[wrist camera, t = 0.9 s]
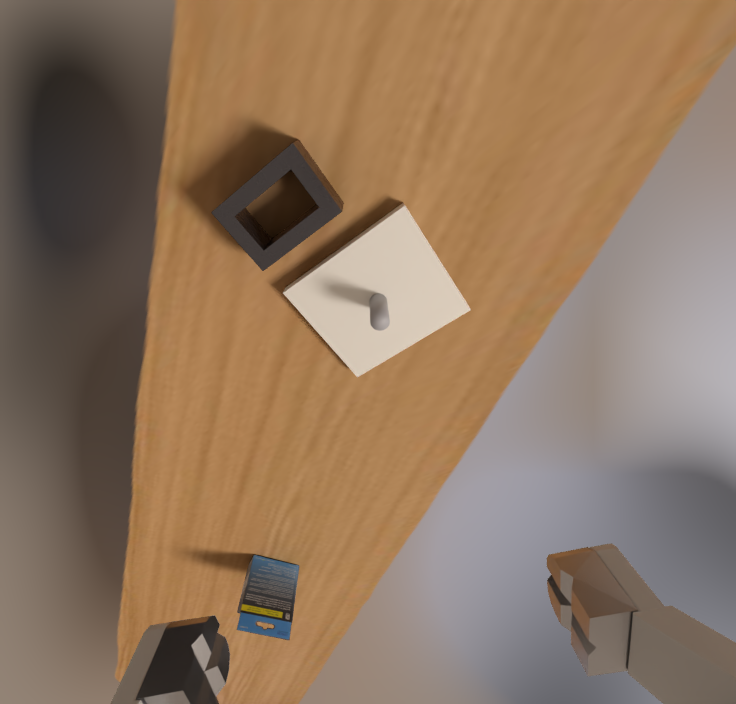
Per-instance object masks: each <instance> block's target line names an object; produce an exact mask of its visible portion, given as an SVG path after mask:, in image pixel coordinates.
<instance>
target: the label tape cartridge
mask: <svg viewBox="0 0 736 704" xmlns="http://www.w3.org/2000/svg"><path fill="white" fill-rule="evenodd" d="M298 572H299V565H295V564H291V563H286V562H282V561H277V560H273V559H269V558H265V557H261V556H258V555H253V557H252V559H251V561H250V563H249V566H248V570H247V573H246V577H245V581H244V586H243V590H242V594H241V598H240V602H239V607H238V611H237V612H238V613H240V618H239V623H238V627H237V630H240V631H246V632H250V633H255V634H260V635H265V636H270V637H276V638H280V639H285V640H290V632H291V625H292V620H293V611H294V603H295V595H296V588H297V580H298ZM257 622H262V623H267V624H272V625H274V628H273V629H271V628H267V629H263V627H261V626H258V625H257Z"/></svg>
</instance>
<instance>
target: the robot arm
mask: <svg viewBox="0 0 736 704" xmlns="http://www.w3.org/2000/svg"><path fill="white" fill-rule="evenodd" d="M547 567H548V569H549V571H550V573H551V574H552V575H551V576H550V577H549V578H548V580H547V584H548V592H549V597H550V601H551V604H552V606H553V609H554V611H555V614H556V616H557V617H558V620H559V622H560V623H561V625H562V626H564V627H565V628H567V629H568V630H569V631H571V645H572V647H573V649H574V651H575V653H576V654H577V656H578V658H579V660H580V662H581V664H582V666H583V668H584V670H585V672H586V673H587V675H588V676H593V675H600V674H608V673H615V672H622V671H628V674H629V675H630V676H632V677H633V678H634V679H635V680H636V681H637V682H639V683H640V684H641V685H642V686H643V687H645V688H646V689H647V690H648V691H649V692H650V693H651V694H653V695H654V696H655V697H656V698H657V699H658V700H660V701H661V702H662V703H663V704H736V643H735V642H733V641H732V640H730V639H728V638H727V637H725V636H723V635H721V634H720V633H718V632H716V631H714V630H712V629H711V628H709V627H707V626H706V625H704V624H702V623H700V622H699V621H697V620H695V619H694V618H692V617H690V616H688V615H687V614H685V613H683V612H681V611H680V610H678V609H676V608H675V607H673V606H666V607H665V606H664V605H663V604H662V603H661V601H660V600H659V599H658V598H657V596H656V595H655V594H654V593H653V592H652V590H651V589H650V588H649V587H648V585H647V584H646V583H645V582H644V580H643V579H642V578H641V577H640V575H639V574H638V573H637V572H636V570H635V569H634V568H633V567H632V566H631V564H630V563H629V562H628V561H627V559H626V558H625V557H624V556H623V554H622V553H621V552H620V551H619V549H618V548H617V547H616V546H614V545H613V544H605V545H600V546H594V547H590V548H588V547H586V548H581V549H576V550H571V551H566V552H560V553H555V554H551V555H548V557H547ZM219 625H220V624H219V622H218V620H217V619H216V617H215V616H208V617H201V618H194V619H187V620H181V621H174V622H168V623H162V624H156V625H150V627H149V628H148V629H147V630H146V631H145V632H144V634H143V636H142V638H141V640H140V642H139V644H138V646H137V649H136V651H135V653H134V655H133V657H132V659H131V661H130V663H129V666H128V668H127V670H126V672H125V674H124V676H123V678H122V680H121V682H120V685H119V687H118V689H117V691H116V694H115V695H114V697H113V699H112V701H111V704H219V702H218V700H217V697H216V696H217V695H218V693H219V692H220V691H221V689H222V688H223V687H224V685H225V684H226V680H227V676H228V672H229V661H230V652H229V646H228V643H227V640H226V638H225V637H224V636H222V635H220V634H219V633H217V632H218V629H219Z"/></svg>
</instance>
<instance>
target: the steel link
mask: <svg viewBox="0 0 736 704" xmlns="http://www.w3.org/2000/svg"><path fill="white" fill-rule="evenodd" d="M290 170H292V171H293V173H294V174H295V175H296V177H297V178H298V179H299V181H300V182H301V183H302V185H303V186H304V187H305V189H306V190H307V191H308V193H309V194H310V196H311V197H312V198H313V200H314V201H315V202H316V205H315V206H314V207H312V208H311V209H310V210H309V211H307V212H306V213H305V214H303V215H302V216H301V217H300V218H298V219H297V220H296V221H295V222H293V223H292V224H291V225H289V226H288V227H287V228H286V229H284V230H283V231H282V232H280V233H279V234H278V235H277V236H275V237H274V238H273V239H271V238H270V237H269V236H268V234H267V233H266V232H265V231H264V230H263V228H262V227H261V226H260V225H259V224H258V223H257V221H256V220H255V219H254V218H253V217H252V215H251V214H250V213H249V212H248V211H247V209H246V208H245V207H246V206H248V205H249V204H250V203H251V202H252V201H254V200H255V199H256V198H257V197H258V196H260V195H261V194H262V193H263V192H264V191H266V190H267V189H268V188H269V187H270V186H272V185H273V184H274V183H275V182H276V181H278V180H279V179H280V178H281V177H282V176H284V175H285V174H286V173H287V172H288V171H290ZM343 204H344V203H343V201H342V200H341V198H340V197H339V196H338V194H337V193H336V191H335V190H334V188H333V187H332V186H331V184H330V183H329V181H328V180H327V179H326V177H325V176H324V174H323V173H322V172H321V170H320V169H319V167H318V166H317V164H316V163H315V162H314V160H313V159H312V157H311V156H310V155H309V153H308V152H307V150H306V149H305V147H304V146H303V145H302V143H301V142H300V140H297V141H295V142H293V143H292V144H291V145H290V146H288V147H287V148H286V149H285V150H284V151H283V152H281V153H280V154H279V155H278V156H277V157H276V158H274V159H273V160H272V161H271V162H270V163H269V164H267V165H266V166H265V167H264V168H263V169H262V170H260V171H259V172H258V173H257V174H256V175H255V176H253V177H252V178H251V179H250V180H249V181H248V182H246V183H245V184H244V185H243V186H242V187H241V188H239V189H238V190H237V191H236V192H235V193H233V194H232V195H231V196H230V197H229V198H228V199H226V200H225V201H224V202H223V203H222V204H221V205H219V206H218V207H217V208H216V209H215V210H214V211H212V212H211V213H212V214H213V215H214V216H215V218H216V219H217V220H218V221H219V222H220V223H221V224H222V225H223V227H224V228H225V229H226V230H227V231H228V232H229V233H230V235H231V236H232V237H233V238H234V239H235V240H236V241H237V242H238V244H239V245H240V246H241V247H242V248H243V249H244V250H245V251H246V253H247V254H248V255H249V256H250V257H251V258H252V259H253V260H254V262H255V263H256V264H257V265H258V266H259V267H260V268H261V270H262V271H264V270H265V269H267V268H268V267H269V266H271V265H272V264H273V263H275V262H276V261H277V260H279V259H280V258H281V257H283V256H284V255H285V254H286V253H288V252H289V251H290V250H292V249H293V248H294V247H296V246H297V245H298V244H300V243H301V242H302V241H304V240H305V239H306V238H308V237H309V236H310V235H312V234H313V233H314V232H316V231H317V230H318V229H320V228H321V227H322V226H324V225H325V224H326V223H328V222H329V221H330V220H332V219H333V218H334V217H336V216H337V215H338V214H340V213H341V212H342V209H343Z"/></svg>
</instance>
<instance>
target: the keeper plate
mask: <svg viewBox="0 0 736 704" xmlns="http://www.w3.org/2000/svg"><path fill="white" fill-rule="evenodd" d="M283 294H284V295H285V296H286V297H287V298H288V299H289V301H290V302H291V303H292V304H293V305H294V306H295V307H296V308H297V310H298V311H299V312H300V313H301V314H302V315H303V316H304V317H305V319H306V320H307V321H308V322H309V323H310V324H311V325H312V327H313V328H314V329H315V330H316V331H317V332H318V333H319V334H320V336H321V337H322V338H323V339H324V340H325V341H326V342H327V343H328V345H329V346H330V347H331V348H332V349H333V350H334V351H335V352H336V354H337V355H338V356H339V357H340V358H341V359H342V360H343V362H344V363H345V364H346V365H347V366H348V367H349V368H350V369H351V371H352V372H353V373H354V374H355V375H356V376H357V377H359V376H360V375H362V374H364V373H365V372H367V371H369V370H370V369H372V368H374V367H376V366H377V365H379V364H381V363H382V362H384V361H386V360H387V359H389V358H391V357H392V356H394V355H396V354H397V353H399V352H401V351H402V350H404V349H406V348H408V347H409V346H411V345H413V344H414V343H416V342H418V341H419V340H421V339H423V338H424V337H426V336H428V335H429V334H431V333H433V332H434V331H436V330H438V329H439V328H441V327H443V326H445V325H446V324H448V323H450V322H451V321H453V320H455V319H456V318H458V317H460V316H461V315H463V314H465V313H466V312H468V311H470V310H471V309H470V308H469V306H468V304H467V302H466V301H465V299H464V298H463V296H462V294H461V293H460V291H459V290H458V288H457V287H456V285H455V283H454V282H453V280H452V279H451V277H450V275H449V274H448V272H447V271H446V269H445V268H444V266H443V264H442V263H441V261H440V260H439V258H438V256H437V255H436V253H435V252H434V250H433V248H432V247H431V245H430V244H429V242H428V241H427V239H426V237H425V236H424V234H423V233H422V231H421V229H420V228H419V226H418V225H417V223H416V222H415V220H414V218H413V217H412V215H411V214H410V212H409V210H408V209H407V207H406V206H405V204H404V203H402V204H401V205H399V206H398V207H396V208H395V209H394V210H392V211H391V212H390V213H388V214H387V215H385V216H384V217H383V218H381V219H380V220H378V221H377V222H376V223H374V224H373V225H372V226H370V227H369V228H367V229H366V230H365V231H363V232H362V233H360V234H359V235H358V236H356V237H355V238H354V239H352V240H351V241H349V242H348V243H347V244H345V245H344V246H342V247H341V248H340V249H338V250H337V251H336V252H334V253H333V254H331V255H330V256H329V257H327V258H326V259H324V260H323V261H322V262H320V263H319V264H318V265H316V266H315V267H313V268H312V269H311V270H309V271H308V272H306V273H305V274H304V275H302V276H301V277H300V278H298V279H297V280H295V281H294V282H293V283H291V284H290V285H288V286H287V287H286V288H285V289H284V292H283Z"/></svg>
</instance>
